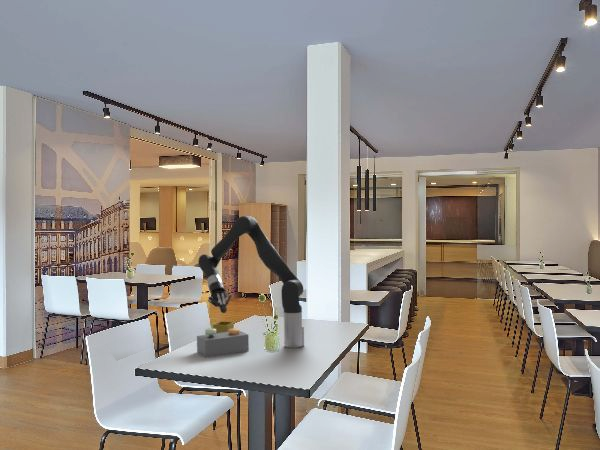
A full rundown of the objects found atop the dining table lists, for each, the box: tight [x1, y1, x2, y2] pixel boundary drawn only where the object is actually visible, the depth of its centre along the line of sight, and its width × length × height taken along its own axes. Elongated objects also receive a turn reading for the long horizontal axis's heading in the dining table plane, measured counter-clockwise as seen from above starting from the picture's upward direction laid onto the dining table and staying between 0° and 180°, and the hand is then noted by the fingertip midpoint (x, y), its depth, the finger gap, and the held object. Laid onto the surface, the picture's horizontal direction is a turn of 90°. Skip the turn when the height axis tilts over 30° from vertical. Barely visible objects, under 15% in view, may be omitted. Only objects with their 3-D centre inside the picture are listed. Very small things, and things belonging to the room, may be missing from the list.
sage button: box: [204, 328, 216, 338], centre depth 231 cm, size 5×5×4 cm
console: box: [196, 330, 250, 359], centre depth 234 cm, size 22×12×8 cm, turn 121°
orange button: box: [229, 327, 240, 335], centre depth 237 cm, size 5×5×4 cm
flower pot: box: [212, 321, 235, 333], centre depth 260 cm, size 9×9×9 cm
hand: (224, 312), depth 242 cm, fingers closed
